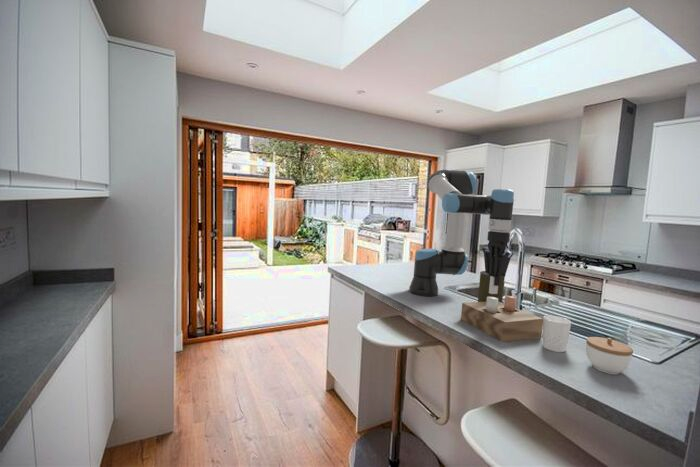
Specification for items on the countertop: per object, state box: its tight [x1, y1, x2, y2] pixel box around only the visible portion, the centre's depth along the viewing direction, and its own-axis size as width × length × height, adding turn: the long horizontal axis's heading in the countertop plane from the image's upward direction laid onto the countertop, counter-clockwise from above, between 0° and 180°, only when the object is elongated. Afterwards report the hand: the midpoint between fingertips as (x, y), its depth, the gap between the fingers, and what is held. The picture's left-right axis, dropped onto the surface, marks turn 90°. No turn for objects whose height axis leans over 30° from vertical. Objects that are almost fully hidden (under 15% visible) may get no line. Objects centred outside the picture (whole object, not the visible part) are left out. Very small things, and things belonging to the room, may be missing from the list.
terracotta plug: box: [504, 295, 517, 312], centre depth 126 cm, size 4×4×6 cm
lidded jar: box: [585, 336, 634, 375], centre depth 95 cm, size 11×11×9 cm
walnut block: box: [460, 301, 543, 343], centre depth 125 cm, size 22×18×7 cm
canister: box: [477, 269, 506, 303], centre depth 145 cm, size 11×10×20 cm
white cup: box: [541, 314, 572, 353], centre depth 109 cm, size 8×8×10 cm
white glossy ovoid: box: [486, 297, 498, 314], centre depth 123 cm, size 4×4×6 cm
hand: (493, 293), depth 122 cm, fingers closed
